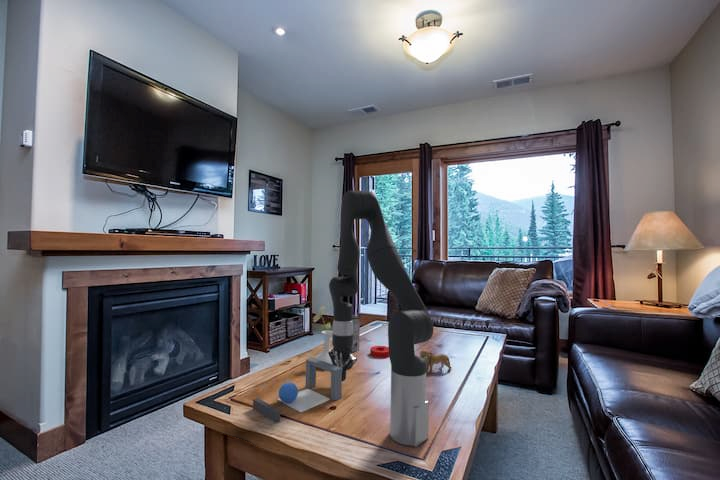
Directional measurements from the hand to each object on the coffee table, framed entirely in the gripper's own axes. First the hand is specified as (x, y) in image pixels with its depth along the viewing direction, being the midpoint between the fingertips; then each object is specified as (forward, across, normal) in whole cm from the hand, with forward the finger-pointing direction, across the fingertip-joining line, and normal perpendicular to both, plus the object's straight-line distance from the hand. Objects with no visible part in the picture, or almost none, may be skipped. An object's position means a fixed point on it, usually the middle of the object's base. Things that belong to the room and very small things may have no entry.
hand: (341, 380), depth 122 cm
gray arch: (+2, 0, -9) cm, 9 cm away
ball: (-2, -2, -22) cm, 22 cm away
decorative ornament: (+2, -12, +37) cm, 39 cm away
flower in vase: (+2, -19, +9) cm, 21 cm away
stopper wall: (+2, 0, -31) cm, 31 cm away
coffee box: (+2, -28, +33) cm, 43 cm away
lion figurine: (+2, +17, +36) cm, 40 cm away
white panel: (+2, 0, -17) cm, 17 cm away
